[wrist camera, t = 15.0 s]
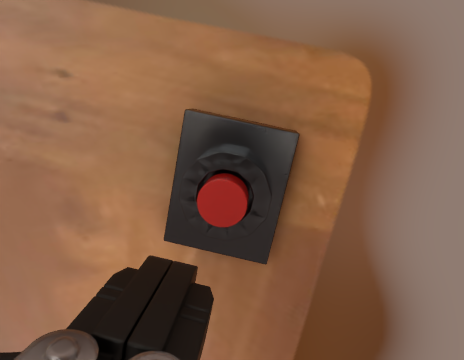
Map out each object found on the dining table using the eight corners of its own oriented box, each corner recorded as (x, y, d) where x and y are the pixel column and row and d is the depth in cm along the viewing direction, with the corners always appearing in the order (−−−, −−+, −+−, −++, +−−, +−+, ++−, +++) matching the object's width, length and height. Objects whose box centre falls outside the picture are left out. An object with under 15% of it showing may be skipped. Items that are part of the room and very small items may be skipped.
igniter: (191, 108, 25) (178, 109, 21) (296, 130, 25) (302, 136, 21) (171, 229, 28) (155, 251, 24) (266, 252, 27) (266, 277, 23)
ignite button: (206, 168, 22) (201, 173, 21) (253, 178, 22) (252, 185, 21) (198, 212, 23) (192, 221, 22) (243, 223, 23) (241, 232, 21)
